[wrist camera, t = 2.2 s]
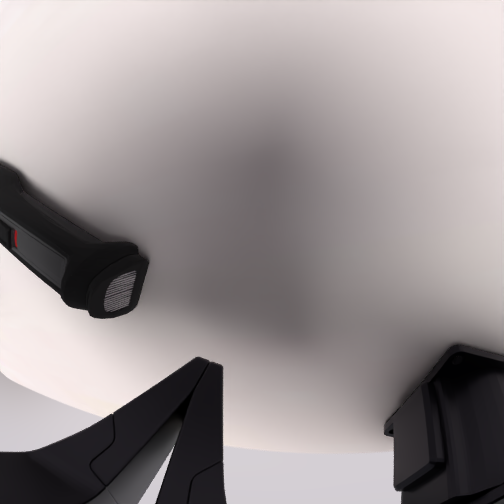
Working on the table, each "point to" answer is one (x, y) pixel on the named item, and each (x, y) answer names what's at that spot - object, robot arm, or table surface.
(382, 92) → the table surface
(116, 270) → the electric trimmer
